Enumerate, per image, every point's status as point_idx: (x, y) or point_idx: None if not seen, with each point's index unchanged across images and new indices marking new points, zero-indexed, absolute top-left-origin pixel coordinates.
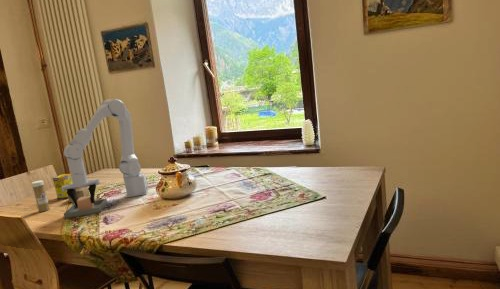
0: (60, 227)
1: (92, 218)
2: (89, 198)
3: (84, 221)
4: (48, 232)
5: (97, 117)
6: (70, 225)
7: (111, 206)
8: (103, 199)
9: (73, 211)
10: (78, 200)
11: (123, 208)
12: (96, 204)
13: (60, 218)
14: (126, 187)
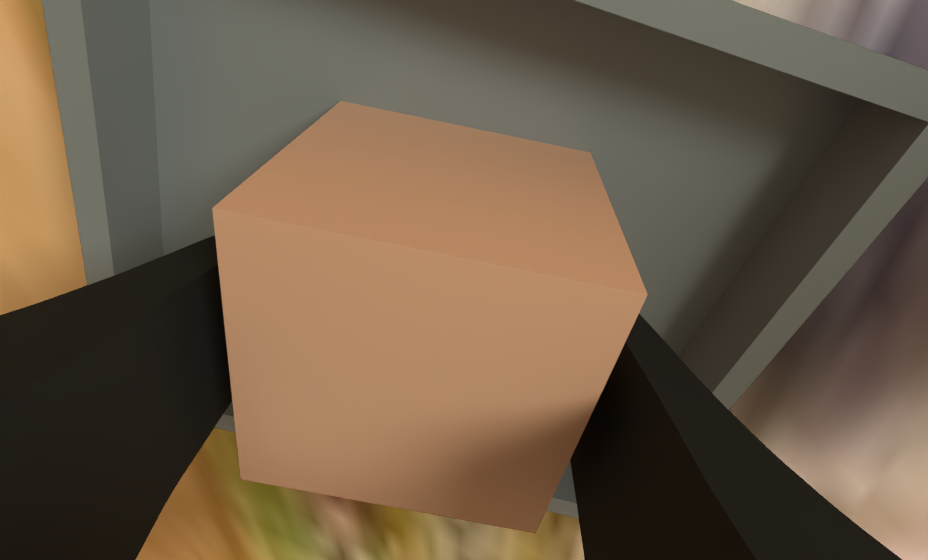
0: (213, 533)
1: (506, 542)
2: (539, 520)
3: (428, 553)
4: (138, 557)
5: None
6: (304, 550)
7: (835, 343)
8: (899, 111)
9: (194, 150)
10: (274, 462)
11: (885, 523)
12: (665, 42)
13: (66, 272)
14: None
